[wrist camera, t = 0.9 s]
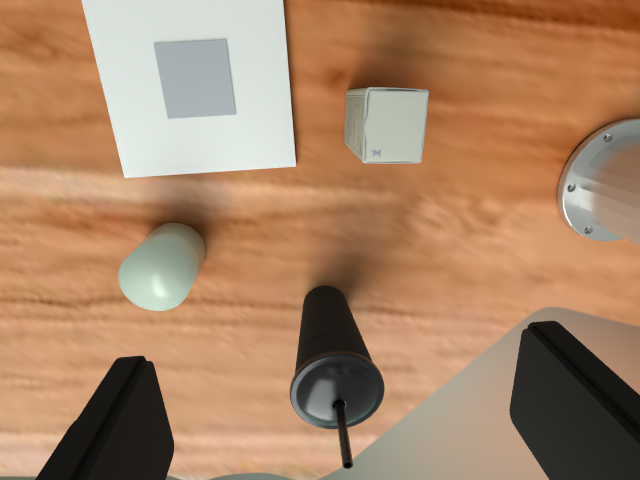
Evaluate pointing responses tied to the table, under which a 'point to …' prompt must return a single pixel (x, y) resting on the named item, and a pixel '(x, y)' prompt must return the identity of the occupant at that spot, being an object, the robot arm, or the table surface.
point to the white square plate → (194, 83)
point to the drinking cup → (333, 369)
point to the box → (386, 124)
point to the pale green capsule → (163, 267)
